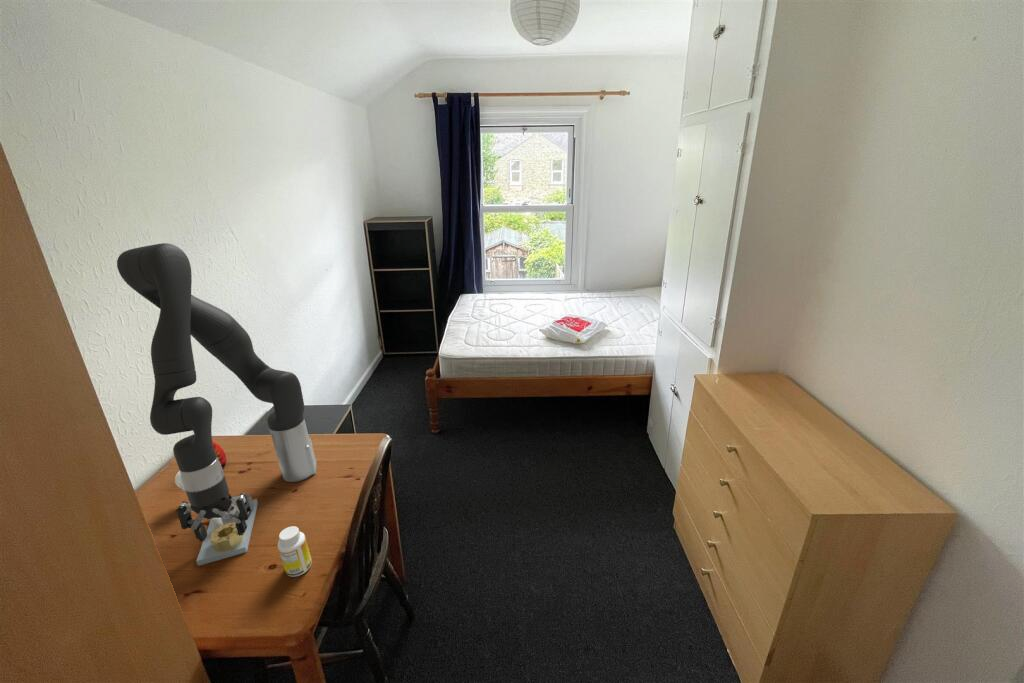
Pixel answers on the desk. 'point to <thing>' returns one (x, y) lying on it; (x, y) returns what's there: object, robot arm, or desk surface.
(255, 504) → the gear board
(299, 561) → the supplement bottle
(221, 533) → the brass gear
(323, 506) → the desk surface
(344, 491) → the desk surface
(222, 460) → the red clay folk toy
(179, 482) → the lightbulb
